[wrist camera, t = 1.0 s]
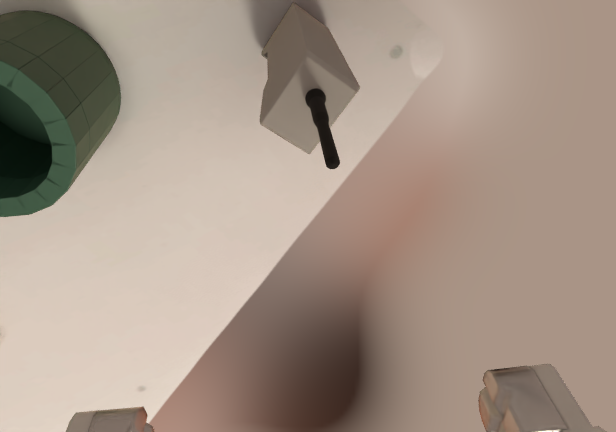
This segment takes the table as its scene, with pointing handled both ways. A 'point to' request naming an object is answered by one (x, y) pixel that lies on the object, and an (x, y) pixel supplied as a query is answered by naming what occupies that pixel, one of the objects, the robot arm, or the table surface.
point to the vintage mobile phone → (305, 84)
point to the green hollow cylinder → (49, 108)
